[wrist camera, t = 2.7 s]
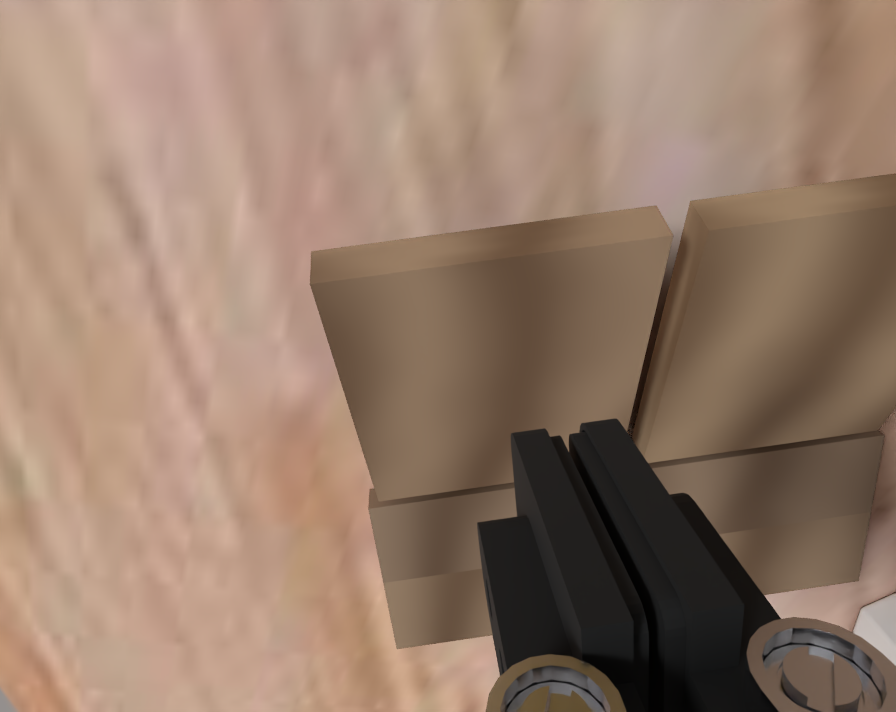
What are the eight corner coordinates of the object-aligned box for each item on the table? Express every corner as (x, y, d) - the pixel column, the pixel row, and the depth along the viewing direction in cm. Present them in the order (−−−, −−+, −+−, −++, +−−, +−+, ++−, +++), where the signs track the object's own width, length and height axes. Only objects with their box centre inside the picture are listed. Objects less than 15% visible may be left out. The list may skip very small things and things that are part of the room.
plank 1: (377, 472, 27) (378, 501, 26) (311, 251, 18) (310, 284, 17) (609, 439, 28) (618, 467, 27) (656, 205, 19) (673, 235, 18)
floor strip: (862, 419, 28) (884, 435, 27) (839, 560, 32) (858, 581, 30) (369, 489, 28) (368, 508, 27) (396, 625, 31) (397, 649, 30)
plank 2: (632, 436, 28) (642, 464, 27) (690, 201, 19) (709, 230, 18) (859, 404, 28) (878, 430, 27) (1026, 156, 19) (1062, 183, 18)
